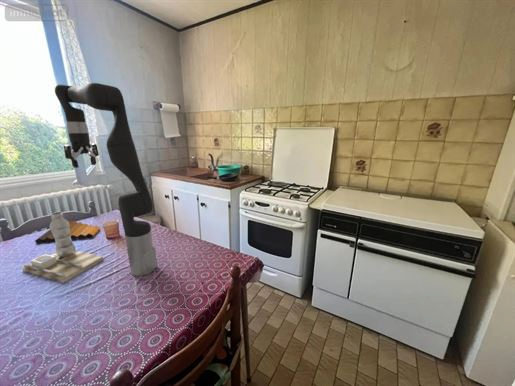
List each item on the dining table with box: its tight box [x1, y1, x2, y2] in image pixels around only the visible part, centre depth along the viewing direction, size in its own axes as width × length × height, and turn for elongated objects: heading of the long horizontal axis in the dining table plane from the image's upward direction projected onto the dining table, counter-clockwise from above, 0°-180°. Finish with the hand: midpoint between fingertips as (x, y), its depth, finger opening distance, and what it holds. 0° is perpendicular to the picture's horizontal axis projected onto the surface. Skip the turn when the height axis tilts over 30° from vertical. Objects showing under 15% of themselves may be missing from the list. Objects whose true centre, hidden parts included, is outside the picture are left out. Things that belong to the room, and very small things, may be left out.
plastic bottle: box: [49, 211, 76, 257], centre depth 96 cm, size 6×7×20 cm
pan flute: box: [34, 219, 100, 244], centre depth 125 cm, size 25×3×25 cm
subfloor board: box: [21, 250, 104, 284], centre depth 94 cm, size 23×16×3 cm
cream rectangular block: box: [30, 253, 57, 269], centre depth 91 cm, size 6×5×3 cm
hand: (85, 166), depth 108 cm, fingers open, 8 cm apart
